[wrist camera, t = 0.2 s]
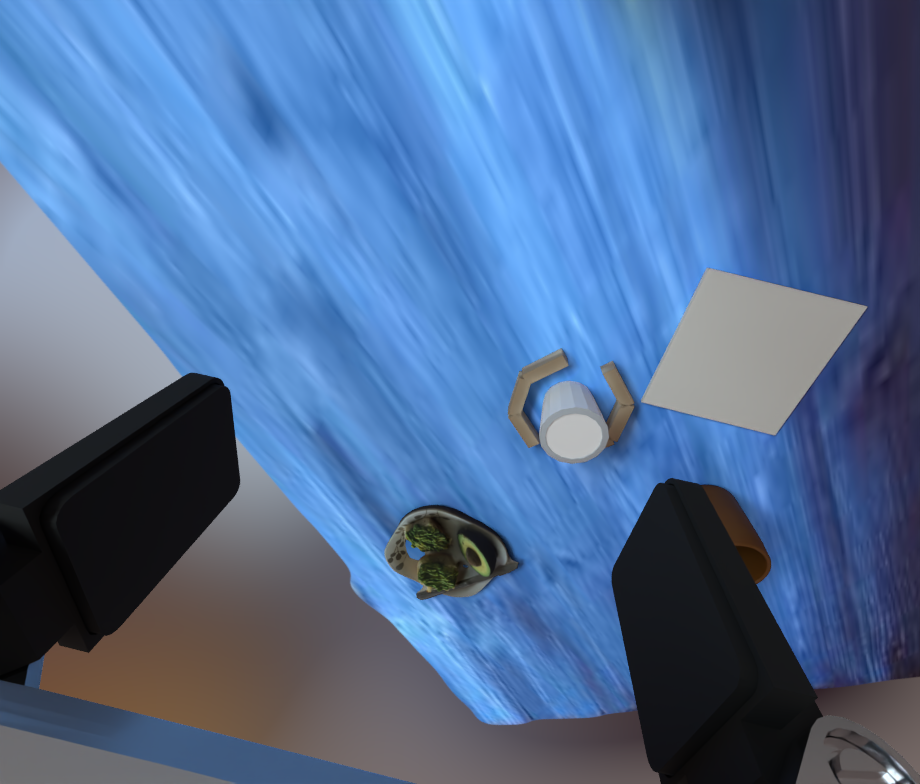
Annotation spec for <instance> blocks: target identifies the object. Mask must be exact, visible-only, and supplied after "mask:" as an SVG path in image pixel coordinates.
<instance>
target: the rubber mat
mask: <svg viewBox="0 0 920 784" xmlns="http://www.w3.org/2000/svg"><path fill="white" fill-rule="evenodd" d="M866 308H867V306H864V305H860V304H856V303H852V302H848V301H843V300H839V299H835V298H831V297H827V296H823V295H819V294H814V293H810V292H806V291H802V290H798V289H794V288H790V287H786V286H781V285H777V284H773V283H769V282H765V281H761V280H757V279H753V278H748V277H744V276H740V275H736V274H732V273H728V272H724V271H720V270H715V269H711V268H706V270H705V272H704V274H703V276H702V278H701V280H700V282H699V284H698V286H697V288H696V290H695V292H694V294H693V296H692V298H691V300H690V302H689V304H688V306H687V308H686V310H685V312H684V314H683V316H682V318H681V320H680V322H679V325H678V327H677V329H676V331H675V333H674V335H673V337H672V339H671V341H670V343H669V345H668V347H667V349H666V351H665V353H664V355H663V357H662V359H661V361H660V363H659V365H658V367H657V369H656V371H655V373H654V375H653V377H652V379H651V381H650V383H649V385H648V387H647V389H646V391H645V393H644V395H643V397H642V399H641V402H643V403H647V404H651V405H655V406H659V407H663V408H667V409H671V410H675V411H679V412H683V413H687V414H691V415H695V416H699V417H703V418H707V419H711V420H715V421H719V422H723V423H727V424H731V425H735V426H739V427H743V428H747V429H751V430H755V431H759V432H763V433H767V434H771V435H776V433H777V432H778V431H779V429H780V428H781V426H782V425H783V424H784V422H785V421H786V420H787V418H788V417H789V415H790V414H791V413H792V411H793V410H794V408H795V407H796V406H797V404H798V403H799V401H800V400H801V399H802V397H803V396H804V395H805V393H806V392H807V390H808V389H809V388H810V386H811V385H812V383H813V382H814V381H815V379H816V378H817V376H818V375H819V374H820V372H821V371H822V370H823V368H824V367H825V365H826V364H827V363H828V361H829V360H830V358H831V357H832V356H833V354H834V353H835V351H836V350H837V349H838V347H839V346H840V345H841V343H842V342H843V340H844V339H845V338H846V336H847V335H848V333H849V332H850V331H851V329H852V328H853V326H854V325H855V324H856V322H857V321H858V319H859V318H860V317H861V315H862V314H863V313H864V311H865V310H866Z"/></svg>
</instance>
